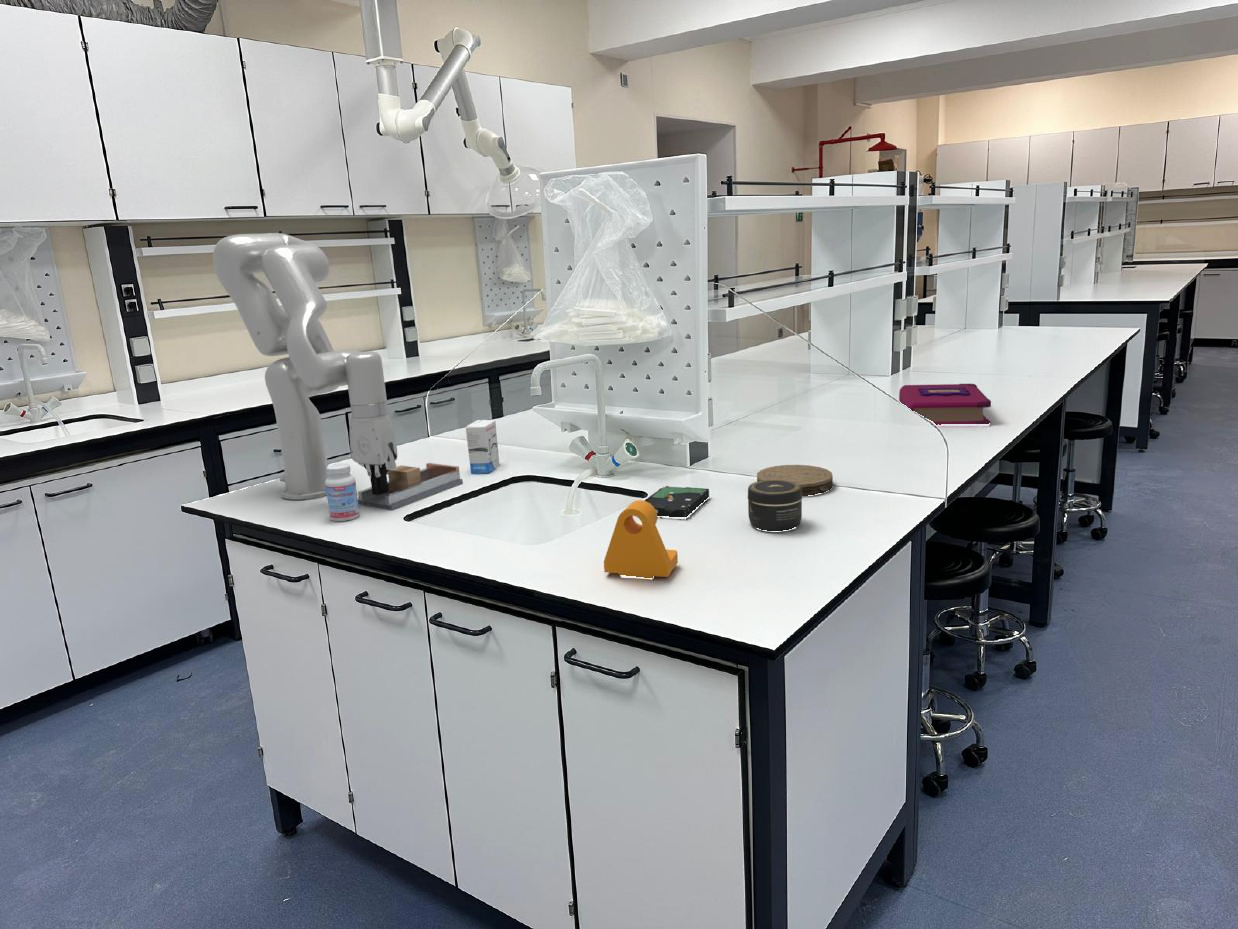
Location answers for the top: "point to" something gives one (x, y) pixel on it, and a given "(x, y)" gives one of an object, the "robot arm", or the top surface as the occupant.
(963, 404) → the book
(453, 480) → the chute
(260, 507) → the top surface
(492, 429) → the ink box
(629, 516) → the bracket
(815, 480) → the cork trivet
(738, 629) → the top surface
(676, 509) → the disk drive
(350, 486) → the pill bottle
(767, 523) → the jar
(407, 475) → the block
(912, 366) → the top surface
